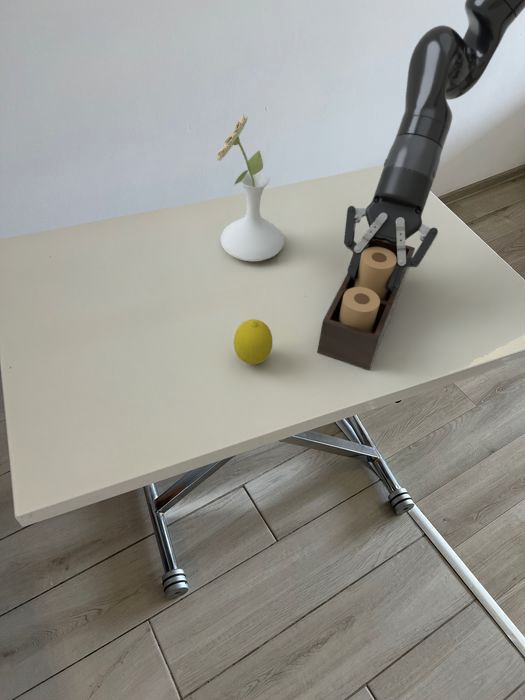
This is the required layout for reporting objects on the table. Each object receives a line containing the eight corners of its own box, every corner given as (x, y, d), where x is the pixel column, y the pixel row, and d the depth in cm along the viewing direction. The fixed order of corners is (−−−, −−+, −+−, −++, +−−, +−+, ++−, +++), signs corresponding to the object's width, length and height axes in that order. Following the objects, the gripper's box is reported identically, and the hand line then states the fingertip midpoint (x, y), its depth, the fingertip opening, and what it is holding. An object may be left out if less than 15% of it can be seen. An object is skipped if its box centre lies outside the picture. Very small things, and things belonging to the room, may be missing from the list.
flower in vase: (248, 221, 102) (252, 87, 83) (295, 246, 97) (310, 110, 79) (201, 252, 95) (193, 113, 77) (249, 280, 90) (253, 140, 72)
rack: (360, 265, 94) (367, 234, 89) (405, 279, 93) (415, 247, 87) (316, 352, 80) (322, 320, 75) (369, 370, 78) (378, 339, 73)
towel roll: (368, 285, 87) (379, 242, 80) (391, 303, 84) (404, 260, 77) (345, 297, 84) (354, 253, 78) (367, 316, 82) (379, 273, 75)
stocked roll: (352, 323, 84) (362, 281, 77) (375, 343, 81) (388, 302, 74) (327, 336, 81) (335, 295, 75) (350, 357, 79) (361, 316, 72)
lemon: (241, 379, 76) (242, 341, 70) (228, 352, 79) (228, 313, 74) (276, 369, 78) (280, 331, 72) (262, 343, 81) (265, 304, 75)
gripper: (454, 194, 80) (416, 301, 81) (363, 171, 83) (328, 274, 85) (459, 178, 73) (418, 296, 74) (359, 154, 76) (321, 267, 78)
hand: (370, 284), depth 80 cm, fingers closed on towel roll, 5 cm apart
